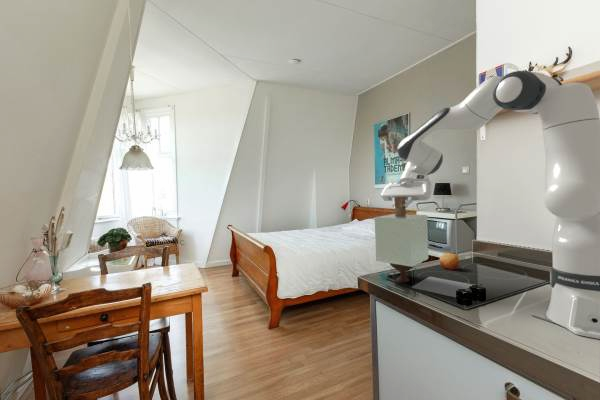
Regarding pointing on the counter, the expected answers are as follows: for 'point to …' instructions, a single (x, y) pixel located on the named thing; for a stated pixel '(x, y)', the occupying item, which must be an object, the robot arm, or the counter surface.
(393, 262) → the cover
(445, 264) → the fruit
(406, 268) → the ice cream bowl
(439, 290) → the mat
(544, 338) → the counter surface
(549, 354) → the counter surface
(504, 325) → the counter surface
